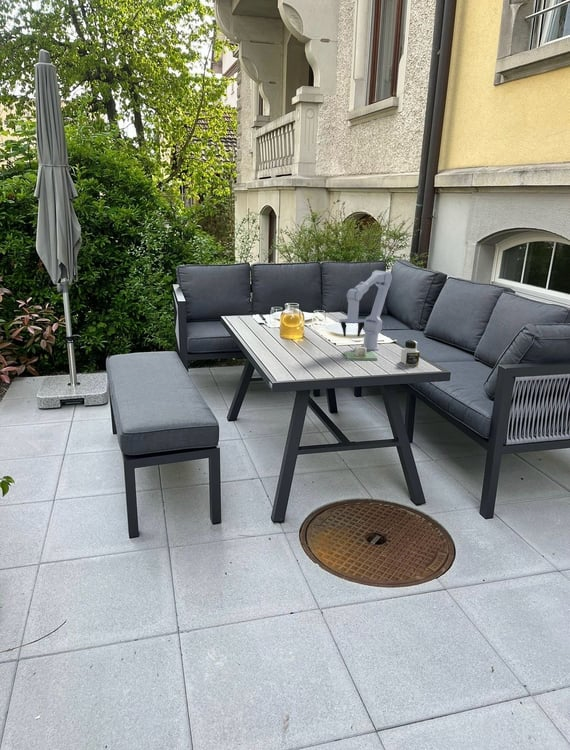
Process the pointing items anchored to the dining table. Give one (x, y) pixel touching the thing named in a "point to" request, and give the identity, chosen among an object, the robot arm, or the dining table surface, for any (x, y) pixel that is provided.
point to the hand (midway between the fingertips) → (351, 336)
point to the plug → (360, 350)
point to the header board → (360, 356)
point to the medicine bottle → (410, 353)
